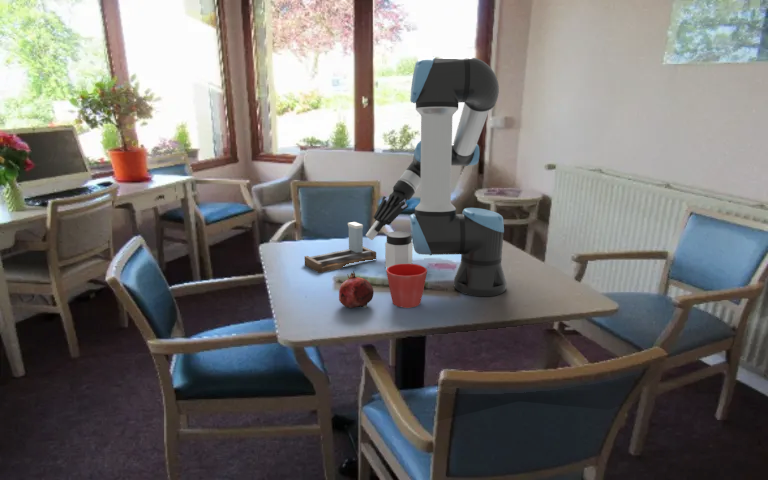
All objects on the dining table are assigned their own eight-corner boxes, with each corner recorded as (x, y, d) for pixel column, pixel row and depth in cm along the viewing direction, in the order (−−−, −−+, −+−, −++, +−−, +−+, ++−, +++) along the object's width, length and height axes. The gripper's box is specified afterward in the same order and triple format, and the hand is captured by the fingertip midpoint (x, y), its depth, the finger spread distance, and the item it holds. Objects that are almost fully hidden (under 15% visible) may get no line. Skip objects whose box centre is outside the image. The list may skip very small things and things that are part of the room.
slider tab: (355, 252, 175) (354, 221, 172) (363, 255, 171) (363, 224, 168) (348, 253, 174) (347, 222, 171) (356, 257, 170) (356, 226, 167)
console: (360, 253, 180) (360, 245, 179) (376, 260, 172) (376, 252, 171) (304, 264, 167) (304, 256, 167) (318, 273, 160) (318, 264, 159)
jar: (417, 270, 162) (417, 234, 159) (398, 275, 157) (398, 239, 154) (399, 263, 169) (399, 229, 166) (380, 268, 164) (380, 233, 161)
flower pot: (389, 294, 142) (389, 262, 140) (427, 296, 141) (428, 263, 138) (383, 309, 132) (383, 274, 129) (425, 311, 131) (425, 276, 128)
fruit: (378, 310, 131) (378, 275, 129) (343, 315, 128) (343, 279, 125) (367, 298, 140) (367, 264, 137) (334, 302, 136) (333, 268, 134)
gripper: (424, 195, 176) (385, 247, 171) (401, 189, 186) (365, 239, 181) (412, 181, 171) (372, 235, 167) (390, 176, 182) (352, 227, 177)
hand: (368, 237), depth 174 cm, fingers closed
